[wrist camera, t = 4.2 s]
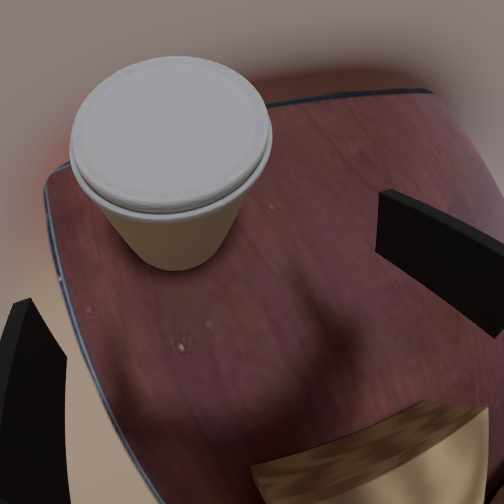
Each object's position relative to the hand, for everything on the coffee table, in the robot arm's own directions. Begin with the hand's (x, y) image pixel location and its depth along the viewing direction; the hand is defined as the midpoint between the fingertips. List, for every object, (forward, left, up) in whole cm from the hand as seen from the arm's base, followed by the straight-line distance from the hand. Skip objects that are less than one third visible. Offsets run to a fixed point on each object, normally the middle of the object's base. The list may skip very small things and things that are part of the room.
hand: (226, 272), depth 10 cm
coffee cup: (-1, +7, -12) cm, 14 cm away
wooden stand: (+9, -19, -12) cm, 24 cm away
